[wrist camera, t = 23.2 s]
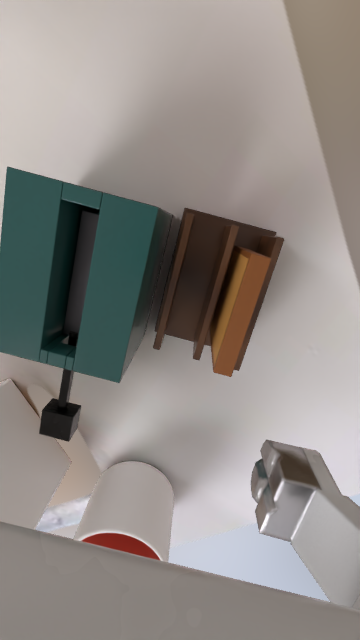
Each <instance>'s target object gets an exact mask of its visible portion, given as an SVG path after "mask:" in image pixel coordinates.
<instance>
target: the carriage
mask: <svg viewBox="0 0 360 640" xmlns="http://www.w3.org/2000/svg"><path fill="white" fill-rule="evenodd" d="M98 219H99V214H96V213H92V212H89V211H85V210H82V214H81V221H80V227H79V233H78V240H77V246H76V253H75V259H74V266H73V272H72V279H71V285H70V291H69V298H68V304H67V311H66V317H65V324H64V330H63V333H64V334H68V335H69V339H68V345H72V346H76V347H77V342H78V336H79V330H80V324H81V318H82V312H83V307H84V301H85V295H86V289H87V283H88V277H89V271H90V266H91V260H92V254H93V248H94V242H95V236H96V231H97V225H98ZM73 373H74V371H73V370H72V371H71V370H67V369H65V368H64V370H63V376H62V382H61V388H60V395H59V400H57V399H54V398H53V399H52V400H51V401H50V402H49V403H48V404H47V405H46V406H45V408H44V409H43V410H42V416H41V423H40V430H39V434H41V435H45V436H49V437H53V438H57V439H61V440H65V441H69V440H70V439H71V437H72V435H73V434H74V432H75V431H76V429H77V426H78V421H79V415H80V410H81V405H77V404H73V403H69V396H70V390H71V385H72V379H73Z"/></svg>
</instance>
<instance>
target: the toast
mask: <svg viewBox="0 0 360 640" xmlns="http://www.w3.org/2000/svg"><path fill="white" fill-rule="evenodd" d="M270 262H271V258H269V257H267V256H264V255H262V254H259V253H257V252H254V251H252V250H249V249H246V248H242V247H239V246H235V248H234V251H233V255H232V258H231V261H230V264H229V268H228V271H227V274H226V278H225V281H224V284H223V287H222V291H221V294H220V297H219V301H218V304H217V307H216V310H215V314H214V317H213V320H212V324H211V327H210V330H209V331H210V341H211V352H212V363H213V372H214V373H218V374H222V375H226V376H229V377H231V376H232V373H233V370H234V367H235V364H236V361H237V358H238V355H239V353H240V350H241V347H242V344H243V341H244V338H245V335H246V332H247V329H248V326H249V323H250V320H251V317H252V315H253V312H254V309H255V306H256V303H257V300H258V297H259V294H260V291H261V288H262V285H263V282H264V279H265V276H266V274H267V271H268V268H269V265H270Z"/></svg>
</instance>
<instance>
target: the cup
mask: <svg viewBox="0 0 360 640" xmlns="http://www.w3.org/2000/svg"><path fill="white" fill-rule="evenodd" d="M173 507H174V493H173V489H172V486H171V484H170V482H169V481H168V479H167V478H166V476H165V475H164V474H163V473H162V472H161V471H159V470H158V469H156V468H155V467H153V466H151V465H149V464H146V463H143V462H137V461H127V462H121V463H118V464H115V465H113V466H111V467H110V468H108V469H107V470H106V471H105V472H103V473H102V475H101V476H100V477H99V479H98V481H97V483H96V485H95V487H94V490H93V492H92V495H91V497H90V500H89V502H88V504H87V507H86V509H85V512H84V514H83V517H82V519H81V521H80V524H79V527H78V529H77V531H76V534H75V536H74V540H78V541H83V542H87V543H91V544H95V545H99V546H103V547H107V548H111V549H115V550H119V551H124V552H128V553H132V554H136V555H140V556H144V557H148V558H152V559H156V560H160V561H164V562H168V557H169V547H170V537H171V527H172V517H173Z"/></svg>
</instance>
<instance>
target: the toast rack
mask: <svg viewBox="0 0 360 640" xmlns="http://www.w3.org/2000/svg"><path fill="white" fill-rule="evenodd" d="M275 235H276V232H273V231H270V230H266V229H262V228H259V227H255V226H251V225H247V224H244V223H240V222H236V221H233V220H229V219H225V218H221V217H218V216H214V215H210V214H207V213H203V212H199V211H195V210H192V209H188V208H185V209H184V213H183V217H182V222H181V226H180V230H179V234H178V238H177V242H176V246H175V250H174V254H173V258H172V262H171V266H170V270H169V274H168V278H167V282H166V286H165V291H164V295H163V299H162V303H161V307H160V311H159V315H158V319H157V323H156V327H155V332H157V334H156V338H155V342H154V346H153V348H154V349H158V350H160V347H161V344H162V341H163V338H164V335H165V334H167V335H170V336H174V337H178V338H182V339H185V340H189V341H193V342H194V349H193V359H196V360H200V357H201V353H202V350H203V347H204V345H208V346H211V341H210V331H209V330H210V327H211V324H212V320H213V317H214V314H215V310H216V307H217V304H218V301H219V297H220V294H221V291H222V287H223V284H224V281H225V278H226V274H227V271H228V268H229V264H230V261H231V258H232V255H233V251H234V248H235V246H239V247H242V248H246V249H249V250H252V251H254V252H257V253H259V254H262V255H264V256H267V257H269V258H271V262H270V265H269V268H268V271H267V274H266V276H265V279H264V282H263V285H262V288H261V291H260V294H259V297H258V300H257V303H256V306H255V309H254V312H253V315H252V317H251V320H250V323H249V326H248V329H247V332H246V335H245V338H244V341H243V344H242V347H241V350H240V353H239V355H238V358H237V361H236V364H235V367H234V370H238V371H239V369H240V366H241V364H242V361H243V358H244V355H245V352H246V349H247V346H248V343H249V340H250V337H251V334H252V332H253V329H254V326H255V323H256V320H257V317H258V314H259V311H260V308H261V305H262V303H263V300H264V297H265V294H266V291H267V288H268V285H269V282H270V279H271V276H272V273H273V271H274V268H275V265H276V262H277V259H278V256H279V253H280V250H281V247H282V244H283V242H284V238H280V237H275Z"/></svg>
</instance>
